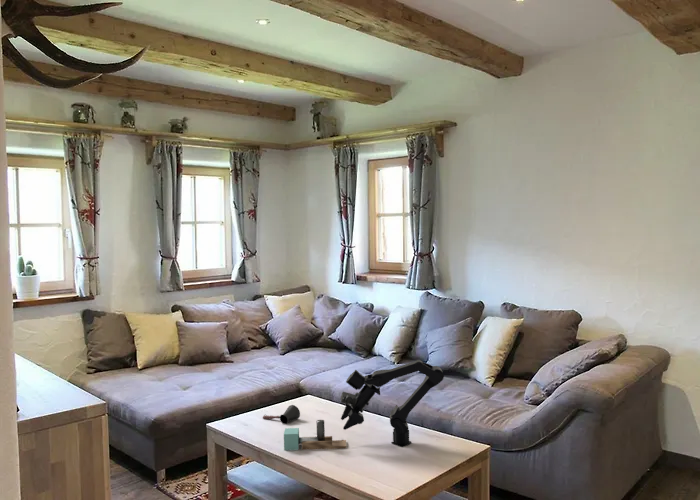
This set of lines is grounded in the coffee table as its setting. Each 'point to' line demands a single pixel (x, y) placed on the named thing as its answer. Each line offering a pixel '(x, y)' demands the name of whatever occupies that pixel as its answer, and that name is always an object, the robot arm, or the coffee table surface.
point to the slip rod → (319, 433)
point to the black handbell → (287, 415)
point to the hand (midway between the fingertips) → (342, 424)
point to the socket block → (291, 438)
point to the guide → (324, 444)
